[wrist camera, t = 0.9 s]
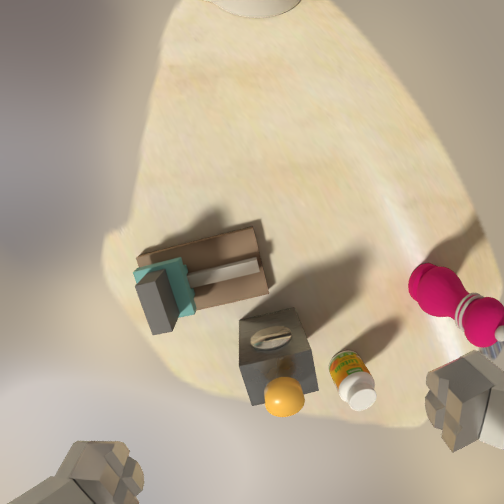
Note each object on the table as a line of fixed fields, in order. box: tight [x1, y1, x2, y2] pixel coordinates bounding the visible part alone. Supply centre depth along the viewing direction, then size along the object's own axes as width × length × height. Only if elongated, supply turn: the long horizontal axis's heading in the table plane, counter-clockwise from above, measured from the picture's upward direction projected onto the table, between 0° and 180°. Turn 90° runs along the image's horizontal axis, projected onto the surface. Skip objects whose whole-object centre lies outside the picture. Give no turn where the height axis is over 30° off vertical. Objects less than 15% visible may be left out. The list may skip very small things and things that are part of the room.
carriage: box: [133, 257, 197, 335], centre depth 38 cm, size 7×6×8 cm
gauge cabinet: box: [239, 308, 319, 406], centre depth 40 cm, size 7×8×12 cm
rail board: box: [136, 227, 269, 310], centre depth 42 cm, size 9×16×3 cm, turn 104°
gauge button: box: [264, 377, 305, 417], centre depth 31 cm, size 4×4×2 cm
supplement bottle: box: [329, 351, 377, 411], centre depth 43 cm, size 5×5×10 cm
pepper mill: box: [408, 263, 504, 347], centre depth 36 cm, size 7×7×20 cm
